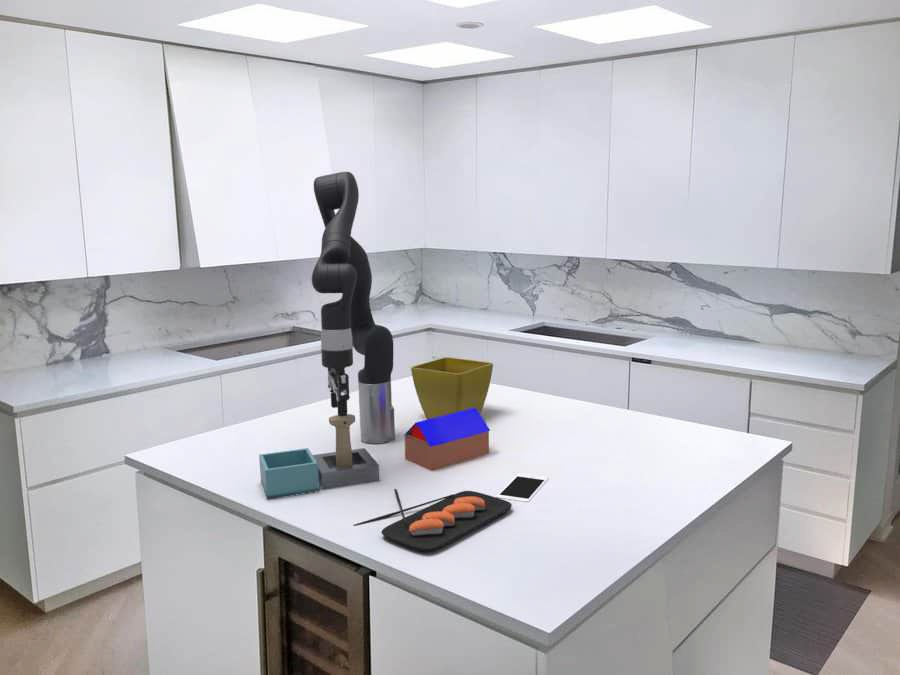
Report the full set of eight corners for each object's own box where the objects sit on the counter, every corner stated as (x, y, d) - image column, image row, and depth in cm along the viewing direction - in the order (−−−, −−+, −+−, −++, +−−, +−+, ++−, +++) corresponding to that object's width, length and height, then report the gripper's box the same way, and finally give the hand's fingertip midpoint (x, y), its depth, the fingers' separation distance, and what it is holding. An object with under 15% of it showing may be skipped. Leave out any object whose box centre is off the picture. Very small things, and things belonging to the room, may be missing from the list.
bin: (309, 474, 189) (308, 448, 188) (319, 491, 178) (317, 463, 177) (260, 481, 185) (259, 454, 184) (267, 499, 174) (265, 470, 173)
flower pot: (446, 405, 250) (445, 356, 247) (495, 414, 239) (494, 362, 236) (410, 419, 235) (409, 367, 232) (460, 429, 224) (459, 374, 221)
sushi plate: (428, 561, 144) (428, 542, 143) (325, 520, 163) (324, 504, 162) (517, 511, 165) (517, 495, 165) (417, 481, 185) (416, 466, 184)
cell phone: (549, 479, 183) (549, 477, 183) (528, 504, 169) (528, 501, 169) (518, 475, 187) (518, 473, 187) (495, 499, 172) (495, 496, 172)
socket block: (365, 462, 197) (364, 448, 196) (379, 480, 184) (378, 465, 183) (311, 470, 192) (310, 455, 192) (322, 489, 179) (321, 473, 179)
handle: (360, 476, 187) (357, 418, 185) (335, 480, 185) (331, 421, 182) (354, 470, 192) (351, 413, 189) (329, 474, 189) (326, 416, 186)
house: (403, 460, 199) (402, 417, 197) (462, 443, 211) (461, 403, 209) (431, 472, 190) (430, 427, 188) (490, 454, 202) (490, 412, 200)
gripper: (358, 350, 177) (360, 417, 180) (346, 340, 190) (348, 403, 193) (326, 352, 175) (329, 420, 177) (316, 342, 188) (318, 405, 191)
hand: (339, 411), depth 185 cm, fingers open, 8 cm apart
